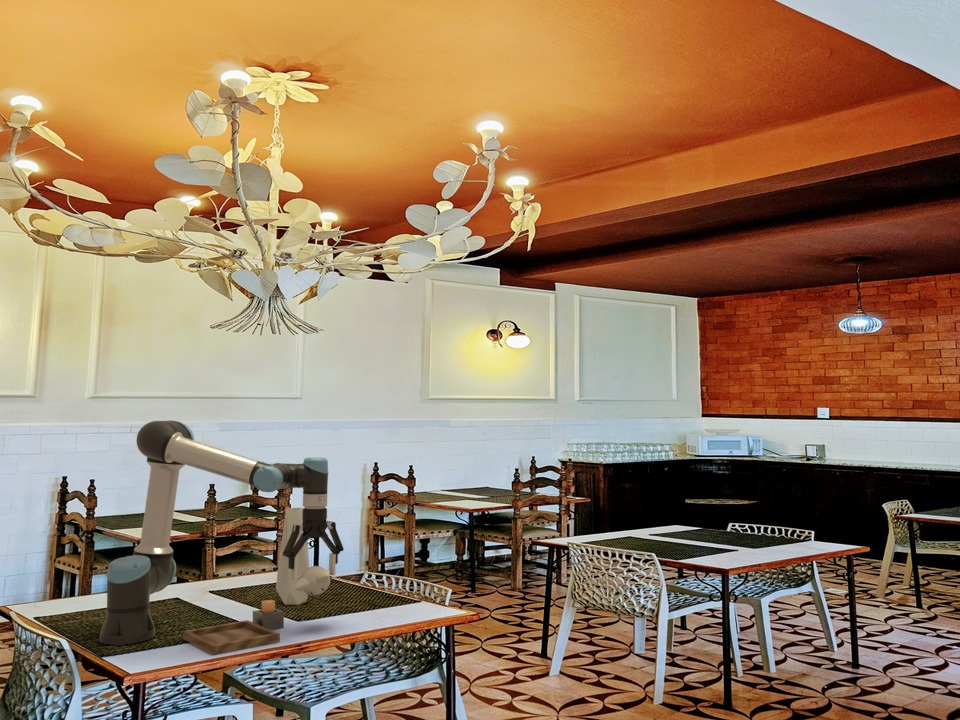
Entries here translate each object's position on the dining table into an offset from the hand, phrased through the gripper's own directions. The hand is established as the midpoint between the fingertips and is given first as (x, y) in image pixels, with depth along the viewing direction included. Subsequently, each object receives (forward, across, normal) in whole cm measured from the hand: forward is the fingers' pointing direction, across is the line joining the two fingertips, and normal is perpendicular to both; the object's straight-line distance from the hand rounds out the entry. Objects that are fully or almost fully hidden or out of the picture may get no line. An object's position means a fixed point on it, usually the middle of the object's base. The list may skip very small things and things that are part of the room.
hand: (313, 577), depth 254 cm
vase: (+16, +14, +36) cm, 42 cm away
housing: (+16, -9, +10) cm, 21 cm away
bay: (+16, -24, +4) cm, 29 cm away
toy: (+5, 0, 0) cm, 5 cm away
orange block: (+13, -9, +11) cm, 19 cm away
